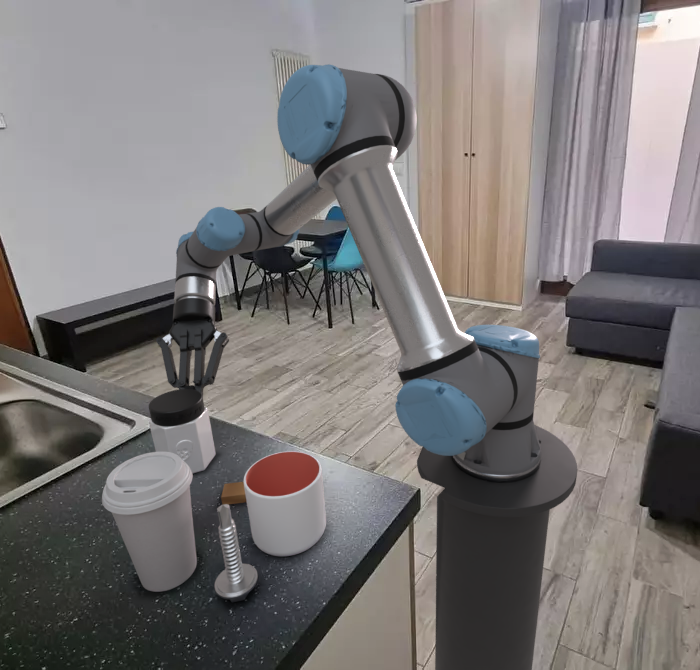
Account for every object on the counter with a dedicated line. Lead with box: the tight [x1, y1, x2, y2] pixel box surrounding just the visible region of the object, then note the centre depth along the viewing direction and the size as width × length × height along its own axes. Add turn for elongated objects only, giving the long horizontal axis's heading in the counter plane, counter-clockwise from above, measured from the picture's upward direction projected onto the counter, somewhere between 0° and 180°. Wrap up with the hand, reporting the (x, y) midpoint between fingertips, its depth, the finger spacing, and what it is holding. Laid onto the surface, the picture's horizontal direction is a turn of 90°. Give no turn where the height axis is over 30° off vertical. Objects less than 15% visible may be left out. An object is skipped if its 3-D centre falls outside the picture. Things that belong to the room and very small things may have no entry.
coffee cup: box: [101, 451, 198, 593], centre depth 59 cm, size 10×10×15 cm
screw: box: [214, 504, 259, 603], centre depth 56 cm, size 13×5×5 cm
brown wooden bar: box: [220, 481, 247, 505], centre depth 75 cm, size 13×3×2 cm, turn 100°
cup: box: [243, 450, 327, 557], centre depth 65 cm, size 10×10×10 cm
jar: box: [148, 389, 217, 474], centre depth 81 cm, size 9×8×12 cm
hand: (189, 422), depth 86 cm, fingers closed
